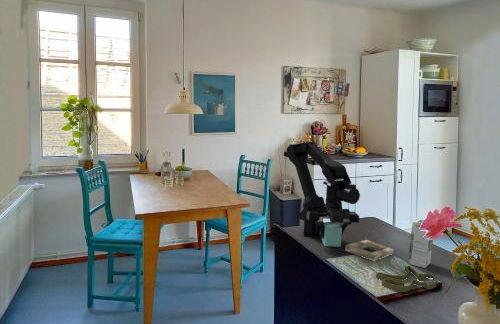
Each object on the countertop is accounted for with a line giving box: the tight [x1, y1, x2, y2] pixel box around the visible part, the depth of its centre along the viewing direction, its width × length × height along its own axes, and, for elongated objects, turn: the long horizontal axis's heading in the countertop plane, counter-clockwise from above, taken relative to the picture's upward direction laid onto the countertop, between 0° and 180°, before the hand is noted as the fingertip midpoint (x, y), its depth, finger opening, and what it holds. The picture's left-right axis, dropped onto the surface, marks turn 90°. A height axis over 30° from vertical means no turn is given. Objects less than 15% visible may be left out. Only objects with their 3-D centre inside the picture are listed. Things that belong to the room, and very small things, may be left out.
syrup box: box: [407, 218, 434, 269], centre depth 124 cm, size 6×6×14 cm
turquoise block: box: [321, 222, 343, 248], centre depth 142 cm, size 6×6×7 cm
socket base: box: [344, 236, 395, 262], centre depth 135 cm, size 13×13×2 cm
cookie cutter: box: [375, 265, 438, 293], centre depth 111 cm, size 18×12×2 cm, turn 116°
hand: (331, 238), depth 142 cm, fingers closed on turquoise block, 6 cm apart
